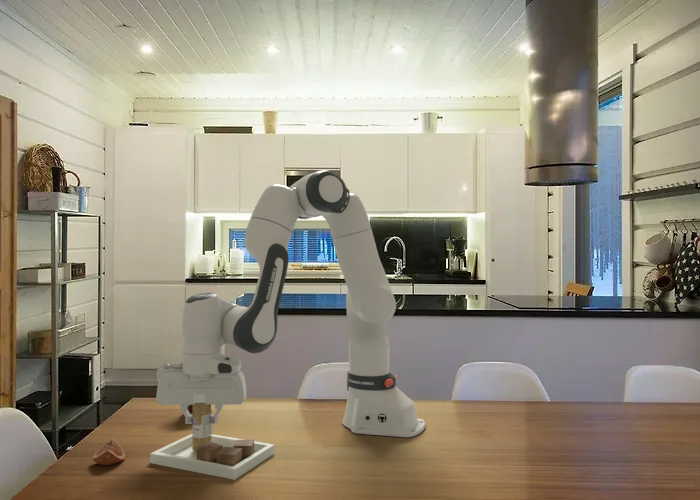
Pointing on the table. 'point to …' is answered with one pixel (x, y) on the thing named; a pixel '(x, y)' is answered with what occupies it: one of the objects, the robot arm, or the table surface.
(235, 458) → the cube
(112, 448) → the fruit slice
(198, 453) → the cube
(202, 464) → the tray
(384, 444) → the table surface
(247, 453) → the cube
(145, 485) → the table surface
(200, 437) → the sprinkles bottle
